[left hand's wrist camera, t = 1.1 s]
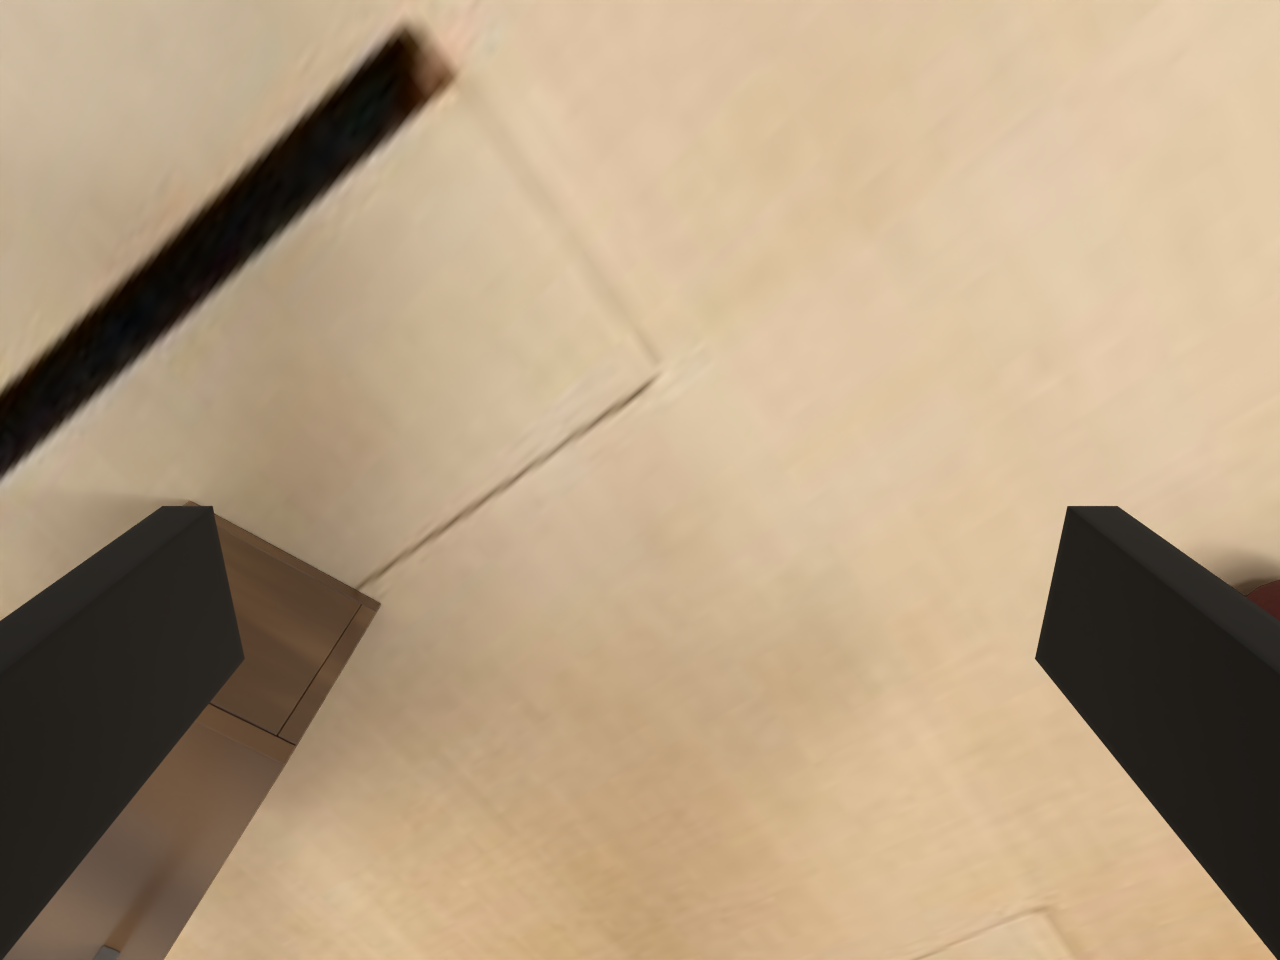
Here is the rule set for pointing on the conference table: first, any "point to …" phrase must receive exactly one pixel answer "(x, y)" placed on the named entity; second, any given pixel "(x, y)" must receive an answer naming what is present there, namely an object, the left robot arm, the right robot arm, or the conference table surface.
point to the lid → (161, 848)
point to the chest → (285, 634)
